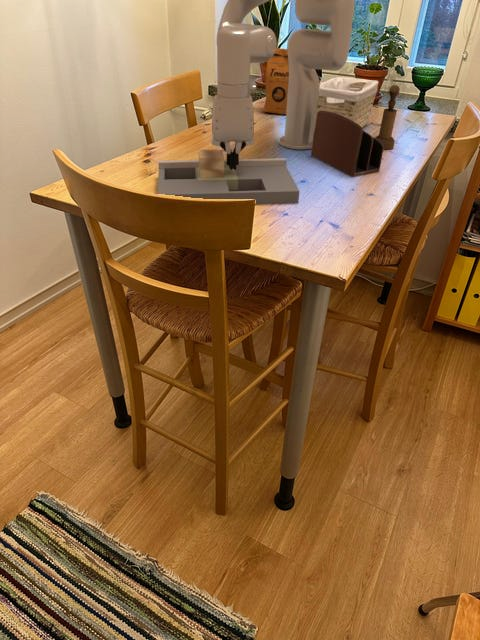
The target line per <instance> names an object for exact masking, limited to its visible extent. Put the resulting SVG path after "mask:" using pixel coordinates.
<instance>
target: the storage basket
mask: <svg viewBox="0 0 480 640" xmlns="http://www.w3.org/2000/svg"><path fill="white" fill-rule="evenodd" d="M350 87H354V88H360V89H361V90H360V91H357V92H355V91H349V89H350ZM378 87H379V81H378V80H374V79H373V80H372V79H371V80H370V79H364V78H358V77H357V78H356V77H349V76H348V77H347V76H346V77H345V76H337V77H333V78H329V79H328V80H326V81H323V82H321V83H320V91H319V99H318V108H317V113H318V112H319V111H327V112H332V113H336V114H339V115H341V116H344V117H346V118H348V119H350V120H352V121H353V122H355V123H357V124H358V125H360V126H361V127H362V129H363V128H364V127H365V126H366V125H368V124H369V119H370V116H371V113H372V110H373V109H372V108H373V106H374V105H373V104H374V101H375V99H376V95H377V93H378ZM316 118H317V117H316Z"/></svg>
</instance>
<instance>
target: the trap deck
mask: <svg viewBox="0 0 480 640" xmlns="http://www.w3.org/2000/svg"><path fill="white" fill-rule="evenodd" d="M157 163H158V164H157V165H158V172H157V173H158V174H157V175H158V177H157V193H156V195H157V194H165V195H175V196H183V197H191V198H203V199H255V200H256V204H255V205H267V204H268V205H271V204H273V205H274V204H299V202H300V201H299V199H300V189H299V187H298V185H297V184H296V182H295V181H294V179H293V177H292V175H291V173H290V171H289V169H288V168H287V166H286V165H287V159H286V158H285V157H283V158H277V157H276V158H245V159H244V158H241V159H240V158H239V165H236V170H234V169H232V170H230V168H229V165H227V158H226V159H225V158H224V177H218V178H201V177H200V171H199V159H189V160H187V159H184V160H183V159H180V160H172V159H171V160H158V162H157Z"/></svg>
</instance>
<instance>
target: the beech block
mask: <svg viewBox="0 0 480 640" xmlns="http://www.w3.org/2000/svg"><path fill="white" fill-rule="evenodd" d="M223 152H224V151H223V149H199V150H198V160H199V171H200V177H201V178H218V177H224V159H225V157H224V156H225V155H224V153H223Z"/></svg>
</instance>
